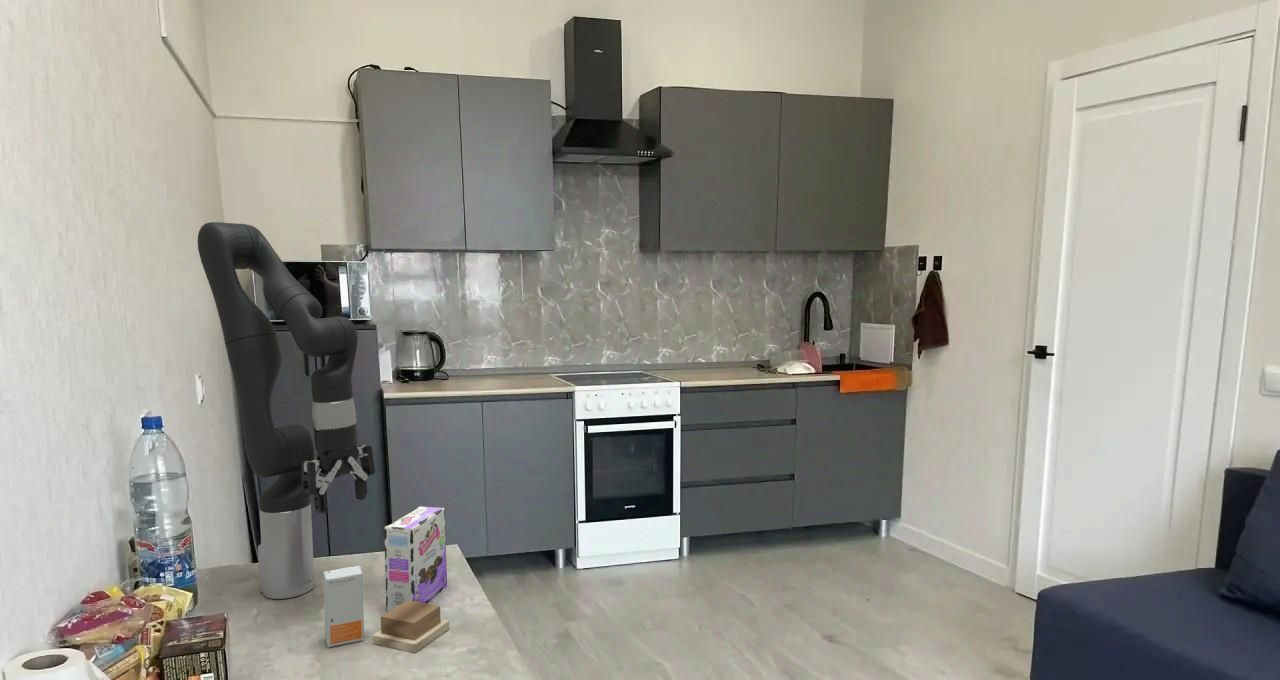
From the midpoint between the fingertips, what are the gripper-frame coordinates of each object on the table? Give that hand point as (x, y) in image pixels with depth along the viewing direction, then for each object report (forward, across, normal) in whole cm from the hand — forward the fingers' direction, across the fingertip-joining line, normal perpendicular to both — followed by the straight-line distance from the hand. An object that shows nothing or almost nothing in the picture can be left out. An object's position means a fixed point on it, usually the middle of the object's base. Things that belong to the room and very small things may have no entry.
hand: (342, 505), depth 139 cm
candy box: (+20, -7, +11) cm, 24 cm away
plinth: (+19, +4, +22) cm, 29 cm away
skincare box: (+19, +11, +13) cm, 25 cm away
